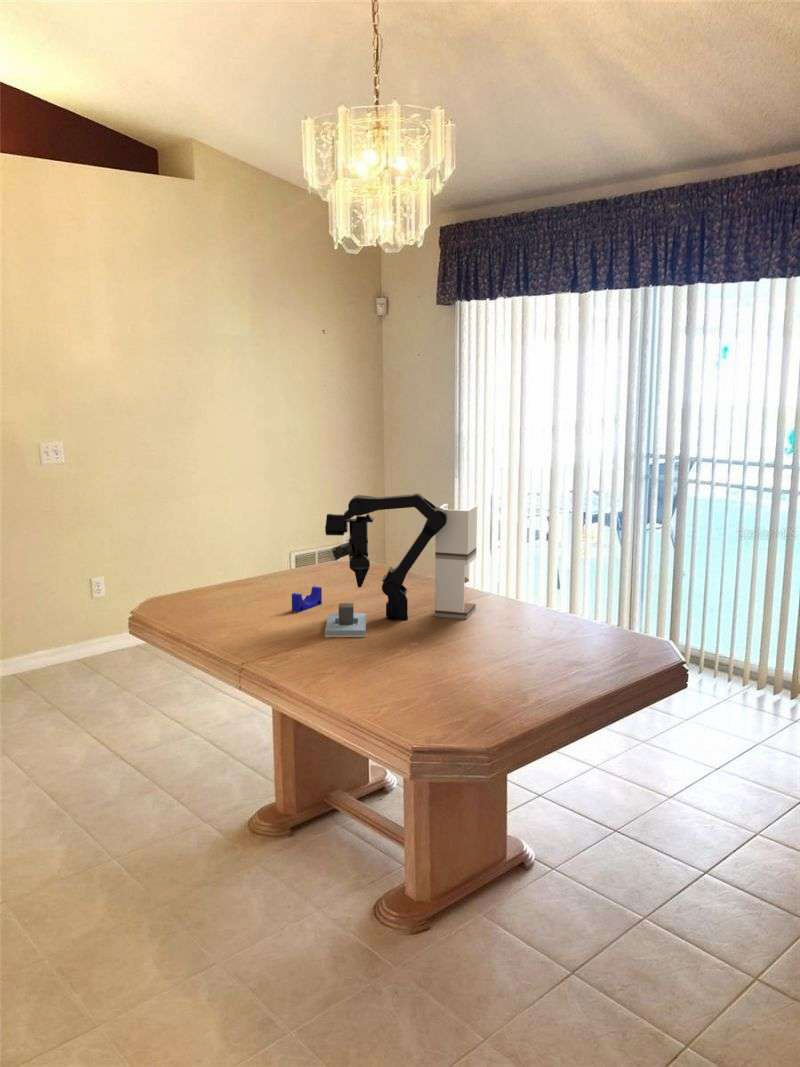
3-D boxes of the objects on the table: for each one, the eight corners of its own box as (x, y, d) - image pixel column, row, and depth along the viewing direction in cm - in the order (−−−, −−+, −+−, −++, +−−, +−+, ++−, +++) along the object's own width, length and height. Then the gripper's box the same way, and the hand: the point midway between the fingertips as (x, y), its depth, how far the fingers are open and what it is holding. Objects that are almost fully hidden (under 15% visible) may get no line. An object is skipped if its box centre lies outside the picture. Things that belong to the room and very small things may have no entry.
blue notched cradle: (311, 602, 297) (311, 585, 295) (321, 604, 294) (321, 587, 293) (288, 610, 287) (288, 593, 286) (299, 612, 284) (298, 595, 283)
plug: (353, 624, 270) (353, 603, 269) (353, 628, 266) (353, 607, 264) (339, 624, 270) (339, 603, 269) (338, 628, 266) (338, 607, 264)
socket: (366, 619, 277) (366, 613, 276) (365, 636, 259) (365, 630, 259) (328, 619, 277) (328, 613, 276) (325, 636, 259) (324, 630, 258)
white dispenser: (466, 619, 277) (468, 510, 271) (434, 616, 281) (435, 509, 274) (475, 609, 288) (477, 505, 281) (444, 607, 291) (445, 503, 285)
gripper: (333, 530, 283) (334, 577, 286) (332, 542, 265) (333, 591, 268) (367, 529, 284) (367, 576, 287) (369, 541, 266) (370, 590, 269)
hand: (359, 583), depth 278 cm, fingers open, 9 cm apart
